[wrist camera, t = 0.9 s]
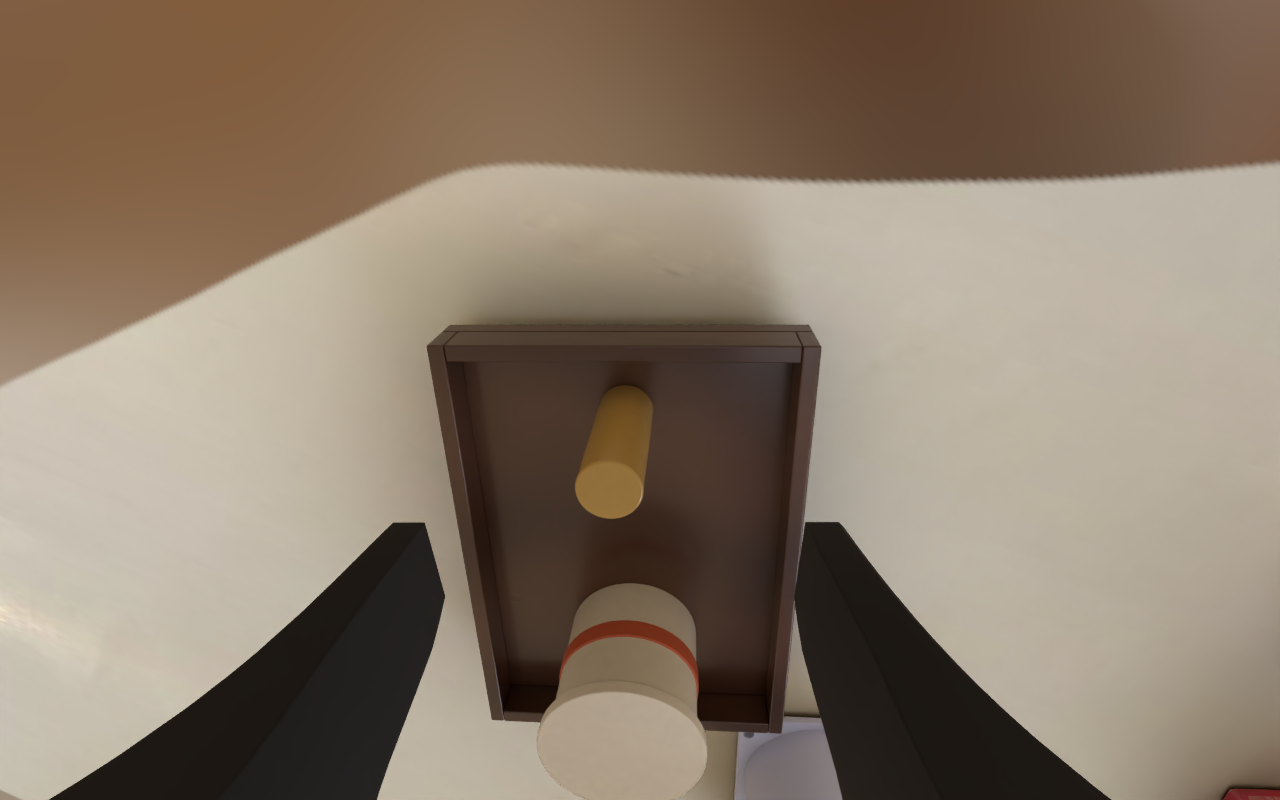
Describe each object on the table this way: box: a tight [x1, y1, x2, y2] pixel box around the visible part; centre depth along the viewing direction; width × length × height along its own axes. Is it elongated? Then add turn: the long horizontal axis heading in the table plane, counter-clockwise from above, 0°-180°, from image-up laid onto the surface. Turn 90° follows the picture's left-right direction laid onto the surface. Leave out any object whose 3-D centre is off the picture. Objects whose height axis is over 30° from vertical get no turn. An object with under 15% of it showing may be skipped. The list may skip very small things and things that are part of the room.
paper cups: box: [537, 583, 707, 800], centre depth 25 cm, size 6×6×6 cm
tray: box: [427, 325, 821, 734], centre depth 23 cm, size 18×13×6 cm
